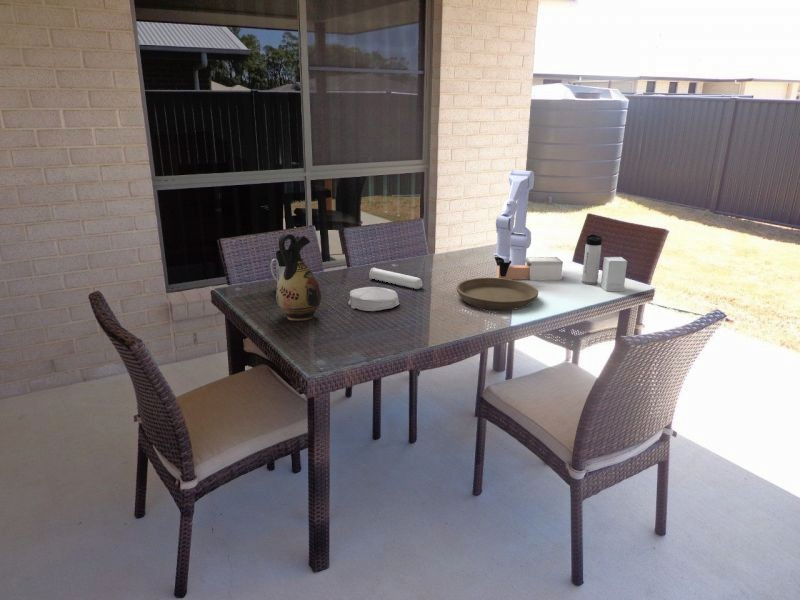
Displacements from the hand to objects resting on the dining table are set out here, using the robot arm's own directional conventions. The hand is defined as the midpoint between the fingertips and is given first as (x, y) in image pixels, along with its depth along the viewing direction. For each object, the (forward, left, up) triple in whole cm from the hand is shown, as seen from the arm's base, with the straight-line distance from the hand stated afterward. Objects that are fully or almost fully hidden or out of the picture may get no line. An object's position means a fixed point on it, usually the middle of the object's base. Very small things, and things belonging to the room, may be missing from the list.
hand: (501, 274), depth 261 cm
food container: (+32, -56, -2) cm, 64 cm away
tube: (+7, -46, -2) cm, 46 cm away
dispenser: (0, +17, -1) cm, 17 cm away
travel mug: (+9, +35, -2) cm, 36 cm away
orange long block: (0, +6, -1) cm, 6 cm away
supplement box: (+18, +41, -2) cm, 45 cm away
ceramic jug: (+47, -83, -2) cm, 95 cm away
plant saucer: (+29, -9, -2) cm, 30 cm away
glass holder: (+13, -92, -2) cm, 93 cm away
